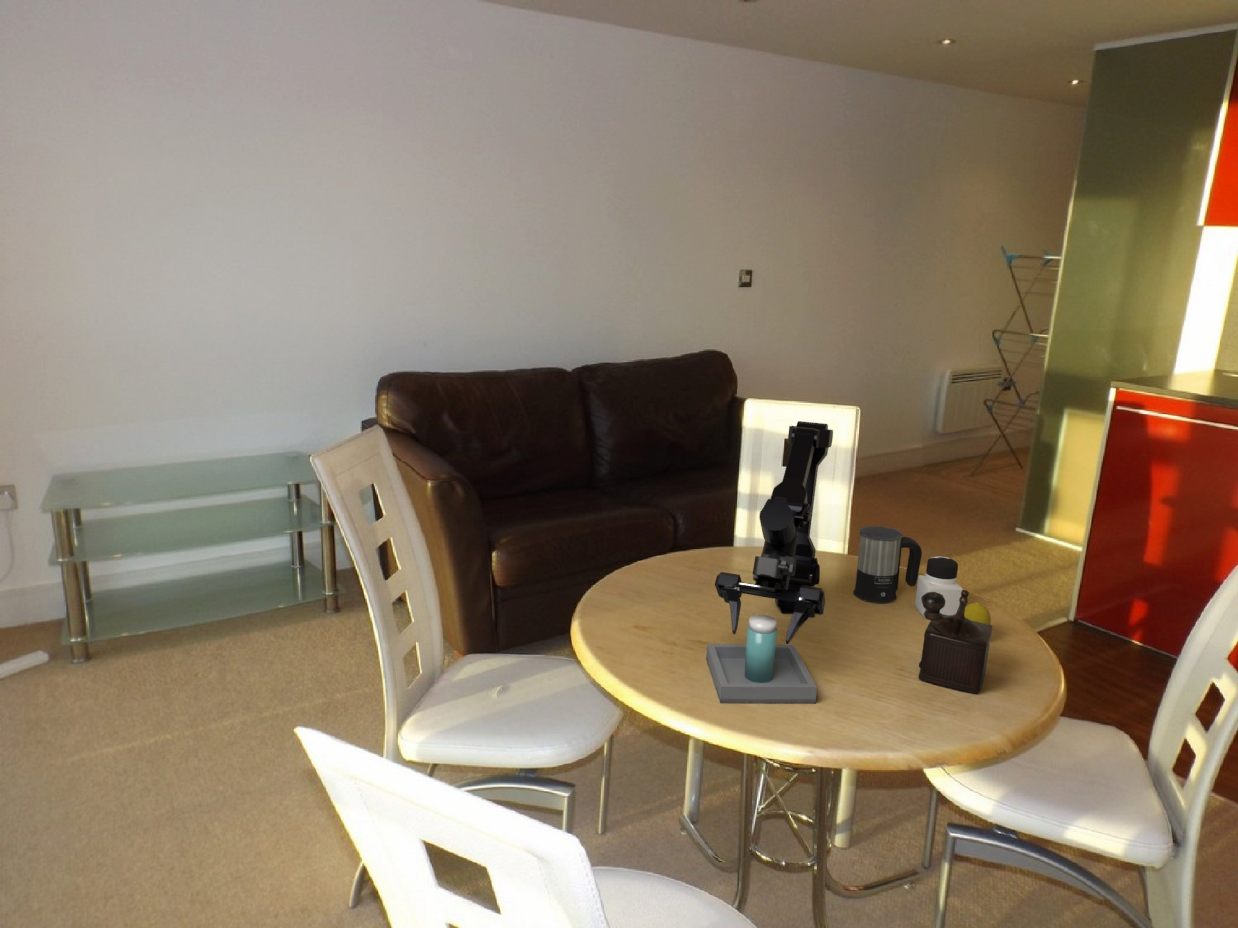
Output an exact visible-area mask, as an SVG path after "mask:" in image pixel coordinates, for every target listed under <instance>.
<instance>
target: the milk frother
mask: <svg viewBox="0 0 1238 928" xmlns="http://www.w3.org/2000/svg"><path fill="white" fill-rule="evenodd" d="M858 532H859V533H858V534H859V535H860V536H859V545H858V557H857V569H856V577H855V578H856V579H855V583H854V584H855V586H854V590H853V592H852V593H853V595H854V596H855V597H856V598H858V599H860V600H861V601H865V602H868V603H874V604H889V603H893V602H895V601H897V598H898V596H897V590H898V589H899V580H900V579H899V578H900V568H901V557H902V548H903V549H906V548H907V549H908V550H909V553H908V559H907V565H906V573H905V583H906V584H907V585H908V586H909V587H915V586H917V583H918V576H919V572H920V568H921V567H920V566H921V560H922V554H923V552H922V551H923V550H922V548H921V546H920V545H919V543H918V542H917V541H916V540H914V538H912V537H908V536H904V533H902V532H901V531H900V530H898V529H895V528H892V527H887V526H882V525H868V526H864V527H860V529H859V531H858Z"/></svg>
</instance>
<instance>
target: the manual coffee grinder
mask: <svg viewBox="0 0 1238 928" xmlns="http://www.w3.org/2000/svg"><path fill="white" fill-rule="evenodd" d="M969 595H970V593H969V591H968V590H967V589H963V591H962V592H961V597H960V599H959V602H960V604H959V608H958V610H957V613H956V614H955V615H949V616H948V615H944V614H942V613H940V610H941V609H942V608H943V607H944V606H945V602H946V601H945V599H944V597H943V595H942V594H939V593H937V592H928V593H926V594H924V595H923V596H922V598H921V600H922V604H923V607H924V608H925V609H926V610H925V612H924V616H925V618H926V619H925V618H924V619H925V620H929V623H928V624H927V626H926V628H925V630H924V631H925V632H924V636H923V644H922V651H921V659H920V661H919V663H918V668H919V673H918V680H920V681H922V682H926V683H928V684H930V685H934V686H938V687H942V688H945V689H949V690H954V691H957V692H961V693H965V694H972V695H976V696H977V695H979V694H980V693H981V690H982V688H983V684H984V681H985V676H986V672H987V664H988V657H989V652H990V651H989V650H990V646H991V645H990V644H991V638H992V631H993V628H994V627H993V625H992V624H990V625H989V624H984V623H980V622H976V621H972V620H969V619H968V618H965V616H964V612H965V607H966V606H967V605H968V604H969Z"/></svg>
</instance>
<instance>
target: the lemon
mask: <svg viewBox="0 0 1238 928" xmlns="http://www.w3.org/2000/svg"><path fill="white" fill-rule="evenodd" d="M964 616H965V618H968V619H969V620H972V621H976V622H980V623H984V624H989V625H992V624H991V622H992V621H991V620H992V618H991V613H990V611H989V609H988V608H987V607H986V606H985V605H984V604H982V603H981V602H980V601H976V602H972V603H968V604H967V605H966V607H965V612H964Z"/></svg>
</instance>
